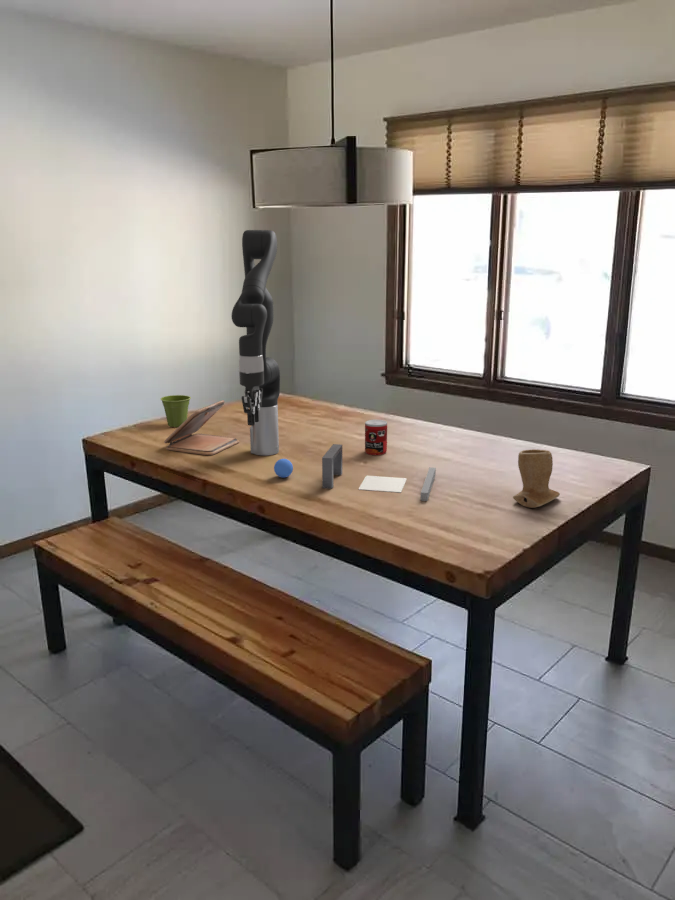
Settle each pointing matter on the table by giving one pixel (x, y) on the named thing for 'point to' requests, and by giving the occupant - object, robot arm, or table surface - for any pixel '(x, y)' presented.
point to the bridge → (331, 465)
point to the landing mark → (383, 484)
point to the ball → (283, 468)
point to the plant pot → (176, 409)
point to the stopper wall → (428, 484)
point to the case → (199, 442)
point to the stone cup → (535, 478)
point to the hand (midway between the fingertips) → (253, 423)
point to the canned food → (376, 437)
